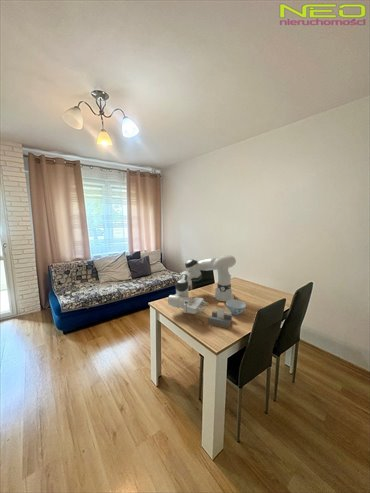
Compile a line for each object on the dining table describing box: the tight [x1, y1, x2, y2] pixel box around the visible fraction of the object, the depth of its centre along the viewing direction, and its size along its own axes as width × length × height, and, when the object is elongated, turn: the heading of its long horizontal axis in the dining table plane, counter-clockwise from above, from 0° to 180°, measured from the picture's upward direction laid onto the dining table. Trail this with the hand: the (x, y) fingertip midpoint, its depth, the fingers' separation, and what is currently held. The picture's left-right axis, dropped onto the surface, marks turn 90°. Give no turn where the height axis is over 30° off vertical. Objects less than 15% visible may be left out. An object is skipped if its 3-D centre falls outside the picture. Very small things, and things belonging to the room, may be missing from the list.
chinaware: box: [225, 299, 247, 316], centre depth 155 cm, size 15×15×8 cm
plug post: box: [216, 301, 226, 319], centre depth 140 cm, size 4×4×12 cm
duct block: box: [208, 310, 233, 329], centre depth 141 cm, size 12×14×4 cm
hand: (206, 306), depth 143 cm, fingers open, 8 cm apart
